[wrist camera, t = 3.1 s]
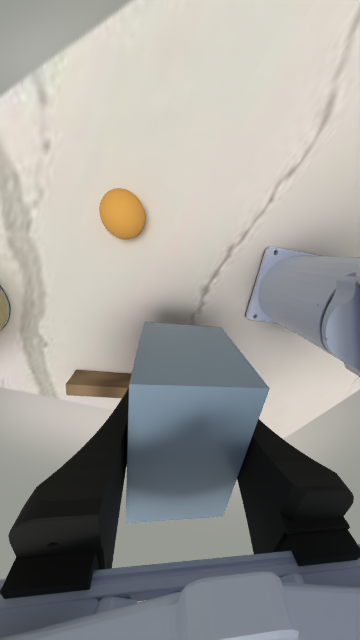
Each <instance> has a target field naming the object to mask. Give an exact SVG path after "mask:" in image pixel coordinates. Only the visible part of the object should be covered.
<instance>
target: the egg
mask: <svg viewBox="0 0 360 640" xmlns="http://www.w3.org/2000/svg"><path fill="white" fill-rule="evenodd" d="M99 210H100V217H101V220H102V223H103V224H104V226H105V228H106V229H107V230H108V231H109V232H110V233H111V234H113V235H114V236H116V237H118V238H122V239H130V238H133V237H135V236H137V235H138V234H139V233H140V232H141V231H142V229H143V227H144V223H145V212H144V208H143V206H142V203H141V202H140V200H139V199H138V198H137V197H136V196H135V195H134V194H133V193H132V192H130V191H128V190H125V189H121V188H117V189H112V190H110V191H108V192H107V193H106V194H105V195H104V196H103V198H102V200H101V203H100V209H99Z"/></svg>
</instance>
